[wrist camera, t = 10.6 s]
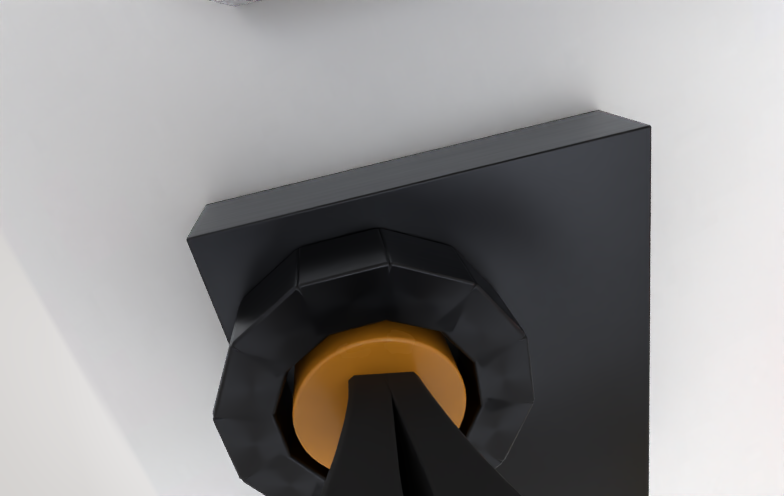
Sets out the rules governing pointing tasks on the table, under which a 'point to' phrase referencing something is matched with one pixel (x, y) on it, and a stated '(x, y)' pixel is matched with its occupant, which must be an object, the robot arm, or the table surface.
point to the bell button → (361, 357)
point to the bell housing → (454, 298)
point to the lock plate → (235, 2)
